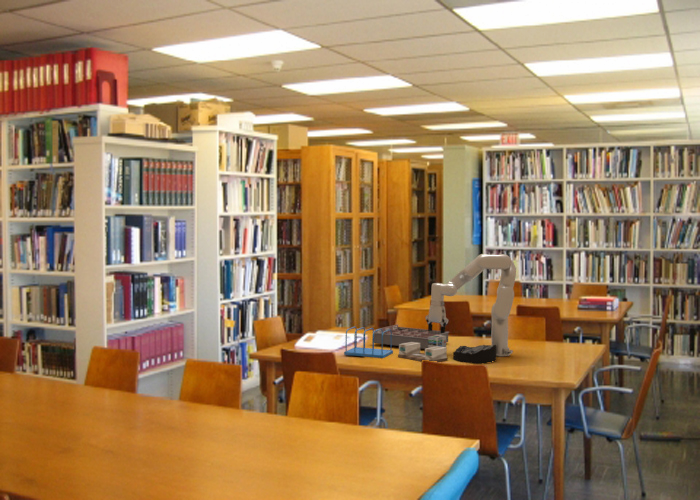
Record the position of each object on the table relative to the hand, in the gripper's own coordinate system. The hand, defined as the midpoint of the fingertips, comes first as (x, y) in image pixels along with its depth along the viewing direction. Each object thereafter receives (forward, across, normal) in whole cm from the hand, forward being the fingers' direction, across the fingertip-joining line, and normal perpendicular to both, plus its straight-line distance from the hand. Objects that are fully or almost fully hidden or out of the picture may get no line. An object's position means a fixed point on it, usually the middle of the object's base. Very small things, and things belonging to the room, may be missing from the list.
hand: (436, 331), depth 428 cm
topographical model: (+13, -26, -4) cm, 29 cm away
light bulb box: (+14, -1, -1) cm, 14 cm away
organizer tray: (+14, +32, -14) cm, 38 cm away
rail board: (+13, -5, +17) cm, 22 cm away
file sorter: (+15, +27, +30) cm, 43 cm away
